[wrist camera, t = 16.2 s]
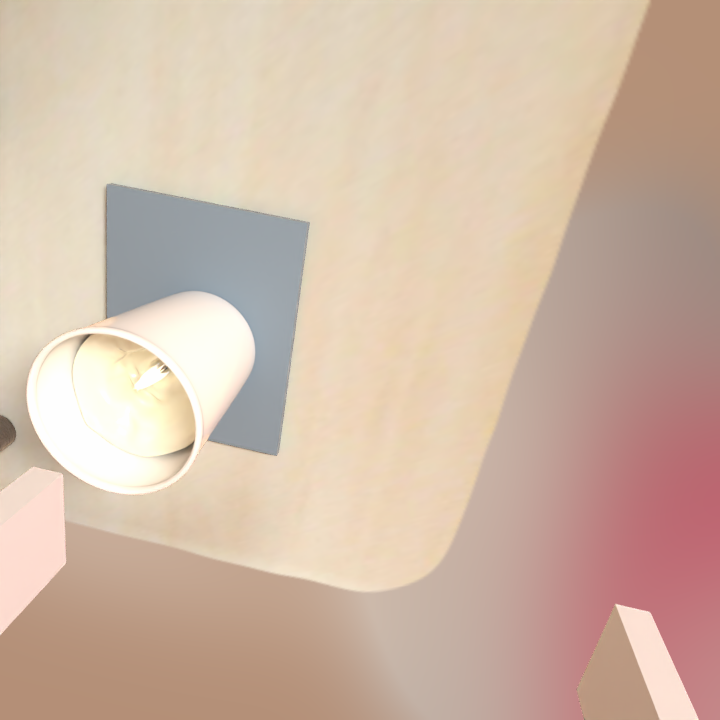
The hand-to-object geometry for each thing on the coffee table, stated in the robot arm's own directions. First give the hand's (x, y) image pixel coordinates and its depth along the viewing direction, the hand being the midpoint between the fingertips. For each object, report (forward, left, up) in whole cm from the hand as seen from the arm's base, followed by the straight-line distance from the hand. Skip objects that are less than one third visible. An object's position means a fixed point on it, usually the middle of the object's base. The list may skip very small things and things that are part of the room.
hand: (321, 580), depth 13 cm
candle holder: (+6, -14, -26) cm, 30 cm away
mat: (+5, -14, -27) cm, 31 cm away
